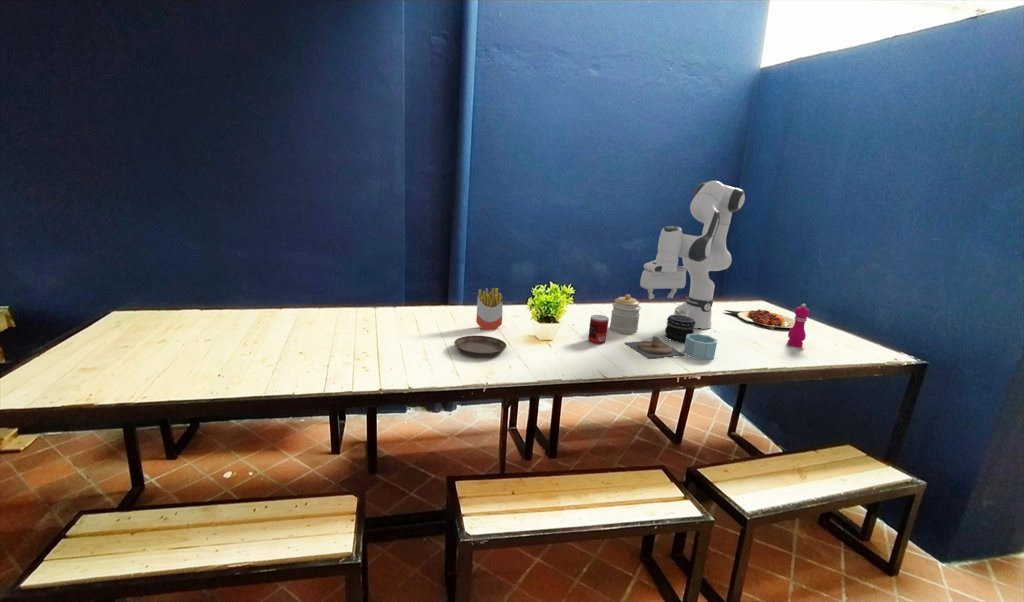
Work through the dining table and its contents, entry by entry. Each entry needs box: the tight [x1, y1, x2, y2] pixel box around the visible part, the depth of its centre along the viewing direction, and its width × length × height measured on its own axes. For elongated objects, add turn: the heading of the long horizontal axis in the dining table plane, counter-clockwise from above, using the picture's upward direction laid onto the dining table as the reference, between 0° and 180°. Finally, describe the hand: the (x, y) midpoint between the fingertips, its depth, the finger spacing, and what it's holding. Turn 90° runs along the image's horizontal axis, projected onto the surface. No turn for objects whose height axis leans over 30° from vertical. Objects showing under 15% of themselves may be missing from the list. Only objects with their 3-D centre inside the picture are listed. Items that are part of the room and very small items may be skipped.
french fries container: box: [475, 287, 504, 331], centre depth 231 cm, size 5×11×18 cm, turn 106°
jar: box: [609, 293, 642, 335], centre depth 243 cm, size 13×13×18 cm
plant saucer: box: [453, 335, 508, 359], centre depth 206 cm, size 21×21×3 cm
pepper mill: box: [787, 303, 811, 348], centre depth 239 cm, size 7×7×20 cm
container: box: [664, 314, 696, 343], centre depth 237 cm, size 13×13×10 cm
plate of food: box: [723, 308, 795, 331], centre depth 277 cm, size 31×35×7 cm
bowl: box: [683, 333, 718, 360], centre depth 219 cm, size 12×12×7 cm
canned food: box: [587, 314, 610, 345], centre depth 225 cm, size 8×8×11 cm
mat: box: [624, 340, 686, 360], centre depth 221 cm, size 18×18×1 cm
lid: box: [638, 335, 673, 355], centre depth 220 cm, size 14×14×5 cm
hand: (660, 298), depth 216 cm, fingers open, 8 cm apart
